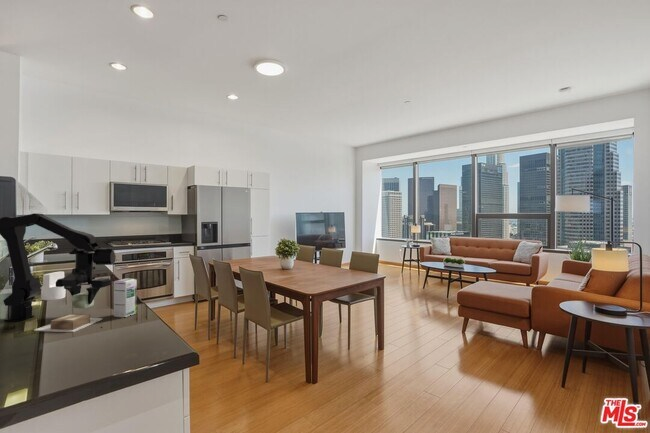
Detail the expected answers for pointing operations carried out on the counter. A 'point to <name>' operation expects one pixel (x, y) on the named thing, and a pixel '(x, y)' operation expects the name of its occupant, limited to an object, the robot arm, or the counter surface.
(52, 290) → the cylinder with rectangular tab
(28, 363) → the counter surface
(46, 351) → the counter surface
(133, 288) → the syrup box
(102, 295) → the counter surface
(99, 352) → the counter surface
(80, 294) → the sage block
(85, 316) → the board
